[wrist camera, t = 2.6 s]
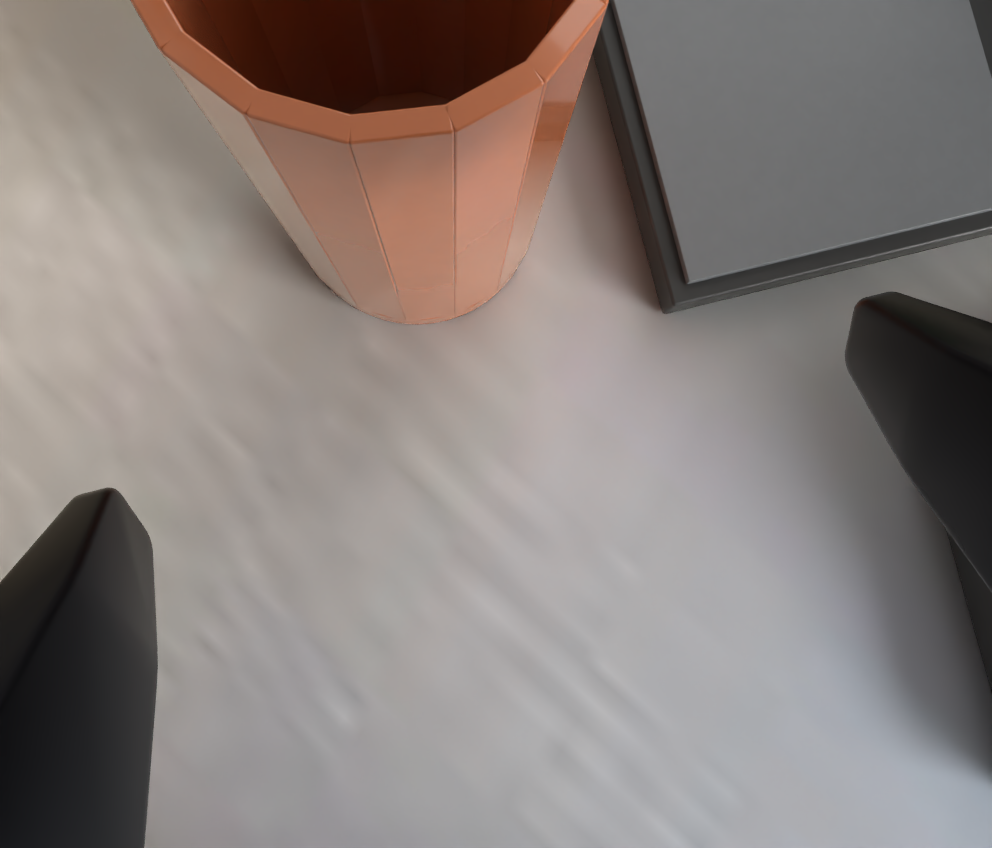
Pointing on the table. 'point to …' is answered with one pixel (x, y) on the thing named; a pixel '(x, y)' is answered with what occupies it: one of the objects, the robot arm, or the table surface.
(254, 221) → the table surface
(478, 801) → the table surface
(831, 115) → the coffee maker
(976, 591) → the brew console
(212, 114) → the cup
